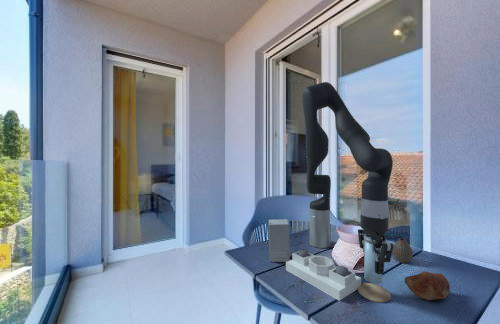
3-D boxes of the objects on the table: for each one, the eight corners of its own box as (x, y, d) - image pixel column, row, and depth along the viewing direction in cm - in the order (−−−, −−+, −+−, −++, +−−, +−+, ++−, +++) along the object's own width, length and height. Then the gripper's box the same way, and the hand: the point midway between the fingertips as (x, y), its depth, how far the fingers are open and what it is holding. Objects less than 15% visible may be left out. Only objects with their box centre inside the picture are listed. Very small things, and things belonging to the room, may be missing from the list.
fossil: (405, 289, 66) (414, 256, 69) (393, 287, 74) (401, 257, 77) (456, 315, 62) (462, 278, 65) (438, 310, 69) (444, 277, 73)
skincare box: (288, 255, 96) (288, 218, 96) (290, 263, 89) (290, 223, 89) (268, 254, 97) (268, 218, 97) (268, 262, 90) (268, 223, 89)
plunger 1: (302, 256, 88) (302, 248, 88) (310, 259, 85) (310, 251, 85) (296, 258, 86) (296, 250, 85) (303, 262, 83) (303, 254, 83)
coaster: (366, 281, 76) (366, 279, 76) (396, 295, 69) (396, 293, 69) (351, 291, 71) (351, 289, 71) (382, 306, 64) (382, 304, 64)
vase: (393, 263, 89) (394, 241, 89) (390, 255, 96) (390, 235, 95) (414, 266, 87) (415, 243, 86) (409, 258, 93) (410, 237, 93)
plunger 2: (340, 273, 75) (340, 264, 75) (350, 278, 72) (350, 269, 72) (333, 277, 73) (333, 267, 72) (343, 282, 70) (344, 272, 70)
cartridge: (360, 275, 72) (360, 234, 72) (375, 274, 73) (376, 234, 72) (370, 284, 67) (370, 241, 67) (386, 283, 67) (387, 240, 67)
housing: (307, 261, 91) (307, 246, 91) (361, 286, 73) (361, 268, 73) (285, 270, 84) (285, 254, 84) (339, 300, 66) (339, 280, 66)
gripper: (350, 208, 76) (349, 258, 77) (377, 220, 62) (376, 282, 62) (371, 208, 77) (370, 258, 77) (403, 220, 62) (402, 281, 63)
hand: (373, 268), depth 70 cm, fingers closed on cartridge, 5 cm apart
